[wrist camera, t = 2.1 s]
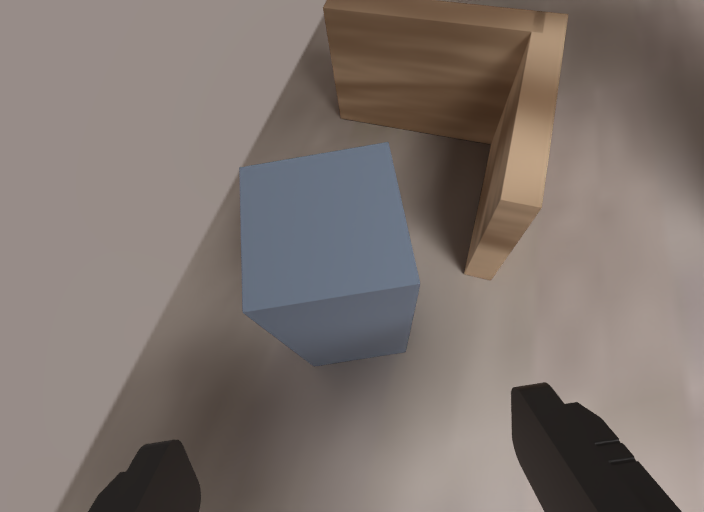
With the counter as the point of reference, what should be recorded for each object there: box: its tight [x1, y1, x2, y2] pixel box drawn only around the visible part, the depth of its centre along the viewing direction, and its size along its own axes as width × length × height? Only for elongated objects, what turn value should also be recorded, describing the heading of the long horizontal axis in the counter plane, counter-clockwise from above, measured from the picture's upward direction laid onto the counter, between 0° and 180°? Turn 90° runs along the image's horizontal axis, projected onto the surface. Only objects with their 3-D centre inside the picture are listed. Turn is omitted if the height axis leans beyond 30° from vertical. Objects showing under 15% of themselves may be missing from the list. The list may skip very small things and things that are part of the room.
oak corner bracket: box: [323, 0, 568, 280], centre depth 21 cm, size 11×12×8 cm
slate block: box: [239, 142, 420, 366], centre depth 17 cm, size 5×5×11 cm
